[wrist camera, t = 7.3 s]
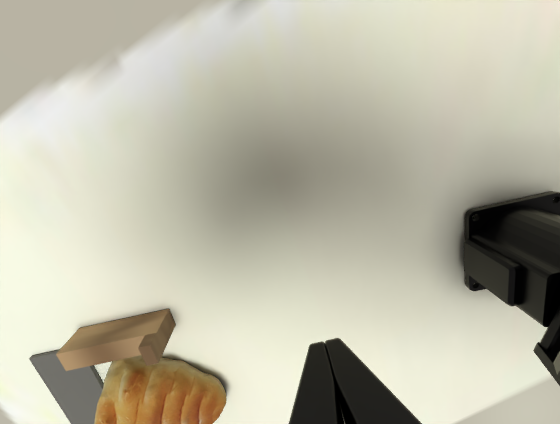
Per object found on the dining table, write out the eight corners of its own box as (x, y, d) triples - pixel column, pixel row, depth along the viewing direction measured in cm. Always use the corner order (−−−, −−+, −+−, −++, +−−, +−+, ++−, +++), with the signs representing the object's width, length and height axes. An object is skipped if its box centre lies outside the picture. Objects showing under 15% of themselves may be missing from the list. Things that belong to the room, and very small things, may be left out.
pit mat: (81, 344, 22) (79, 348, 21) (147, 462, 26) (146, 466, 26) (32, 355, 22) (29, 358, 22) (105, 470, 26) (104, 474, 26)
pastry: (233, 358, 23) (227, 403, 20) (222, 416, 25) (215, 466, 22) (114, 344, 22) (85, 388, 19) (113, 406, 24) (86, 457, 21)
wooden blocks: (169, 308, 21) (150, 345, 18) (230, 456, 26) (224, 506, 23) (79, 328, 21) (43, 368, 18) (158, 471, 27) (142, 523, 23)
